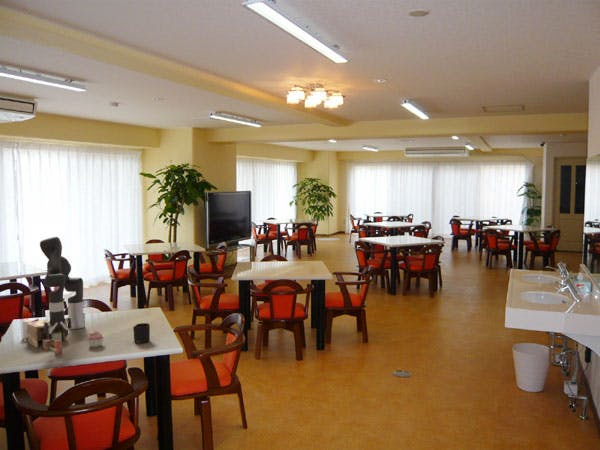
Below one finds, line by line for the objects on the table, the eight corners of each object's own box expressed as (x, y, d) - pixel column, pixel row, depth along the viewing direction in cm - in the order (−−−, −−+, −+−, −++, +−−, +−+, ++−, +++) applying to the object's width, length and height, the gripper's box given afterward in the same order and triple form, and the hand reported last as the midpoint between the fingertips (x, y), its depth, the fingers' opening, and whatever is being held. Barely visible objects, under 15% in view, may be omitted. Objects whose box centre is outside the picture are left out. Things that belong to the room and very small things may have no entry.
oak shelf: (58, 336, 328) (57, 317, 327) (67, 340, 318) (66, 321, 317) (27, 342, 315) (26, 322, 314) (36, 347, 306) (35, 327, 305)
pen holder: (131, 341, 316) (130, 325, 315) (146, 338, 322) (145, 322, 321) (137, 345, 308) (137, 328, 308) (152, 341, 314) (152, 325, 314)
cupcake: (91, 343, 312) (90, 327, 311) (106, 343, 312) (106, 327, 311) (84, 348, 303) (83, 331, 302) (100, 348, 302) (99, 331, 302)
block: (58, 339, 322) (58, 331, 322) (61, 340, 319) (61, 332, 318) (50, 340, 319) (49, 332, 318) (53, 342, 315) (52, 334, 315)
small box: (30, 338, 324) (30, 321, 323) (22, 338, 325) (22, 321, 324) (39, 334, 331) (38, 318, 331) (31, 334, 333) (31, 318, 332)
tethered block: (51, 346, 308) (51, 334, 307) (64, 352, 295) (63, 340, 295) (42, 348, 304) (42, 336, 304) (55, 355, 292) (54, 342, 291)
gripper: (67, 306, 300) (68, 334, 302) (40, 310, 290) (42, 339, 292) (72, 308, 295) (73, 336, 297) (45, 313, 285) (47, 342, 286)
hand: (58, 338), depth 294 cm, fingers open, 8 cm apart
